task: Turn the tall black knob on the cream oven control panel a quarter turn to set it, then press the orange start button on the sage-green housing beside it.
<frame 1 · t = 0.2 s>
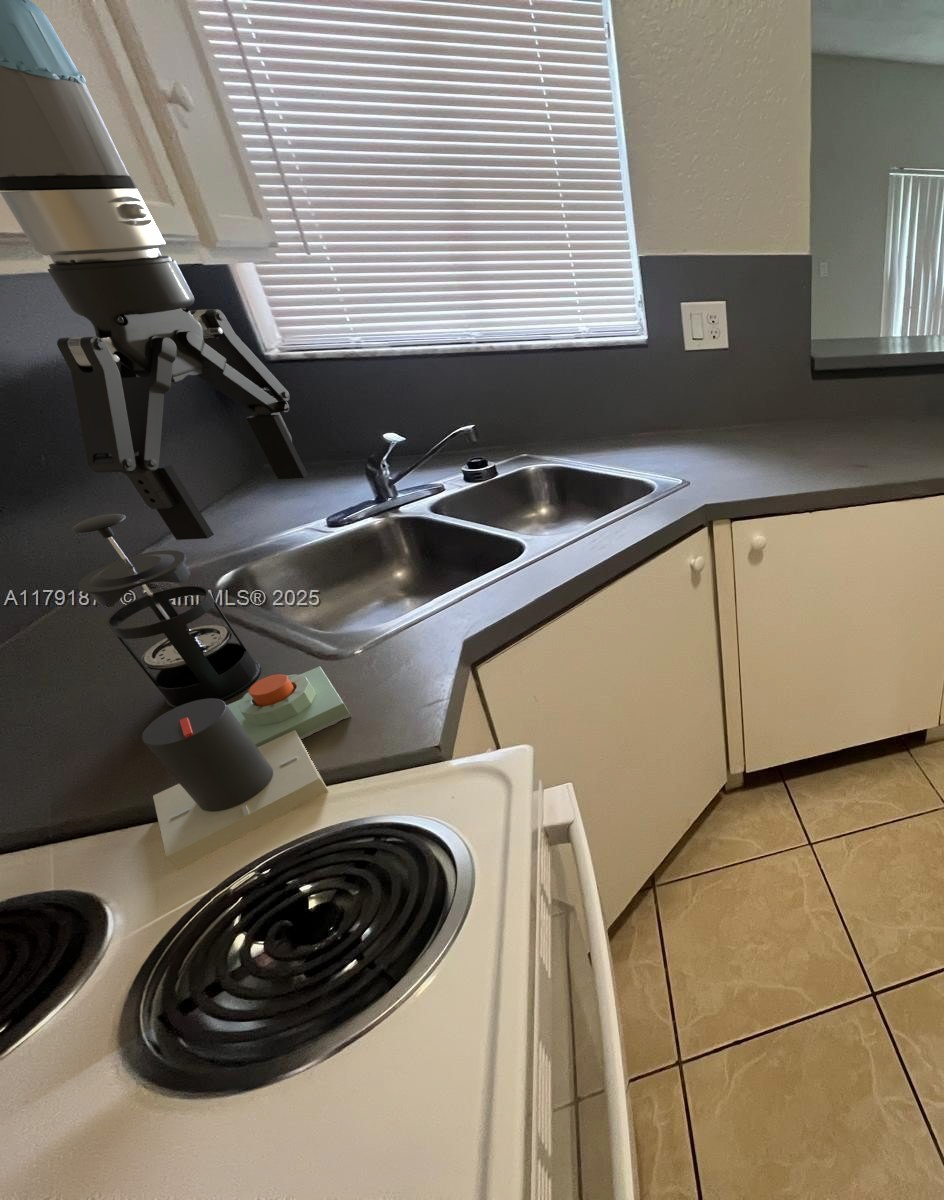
hand: (249, 504, 61), 26 cm above the worktop, tool pointing down, fingers open, 13 cm apart
start button: (272, 690, 71), point 4 cm above the worktop, slide at 0.1 cm
button box: (291, 719, 73), on the worktop
french press: (216, 684, 79), on the worktop
oven knob: (211, 753, 60), point 7 cm above the worktop, hinge at 0.0°
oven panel: (247, 800, 63), on the worktop
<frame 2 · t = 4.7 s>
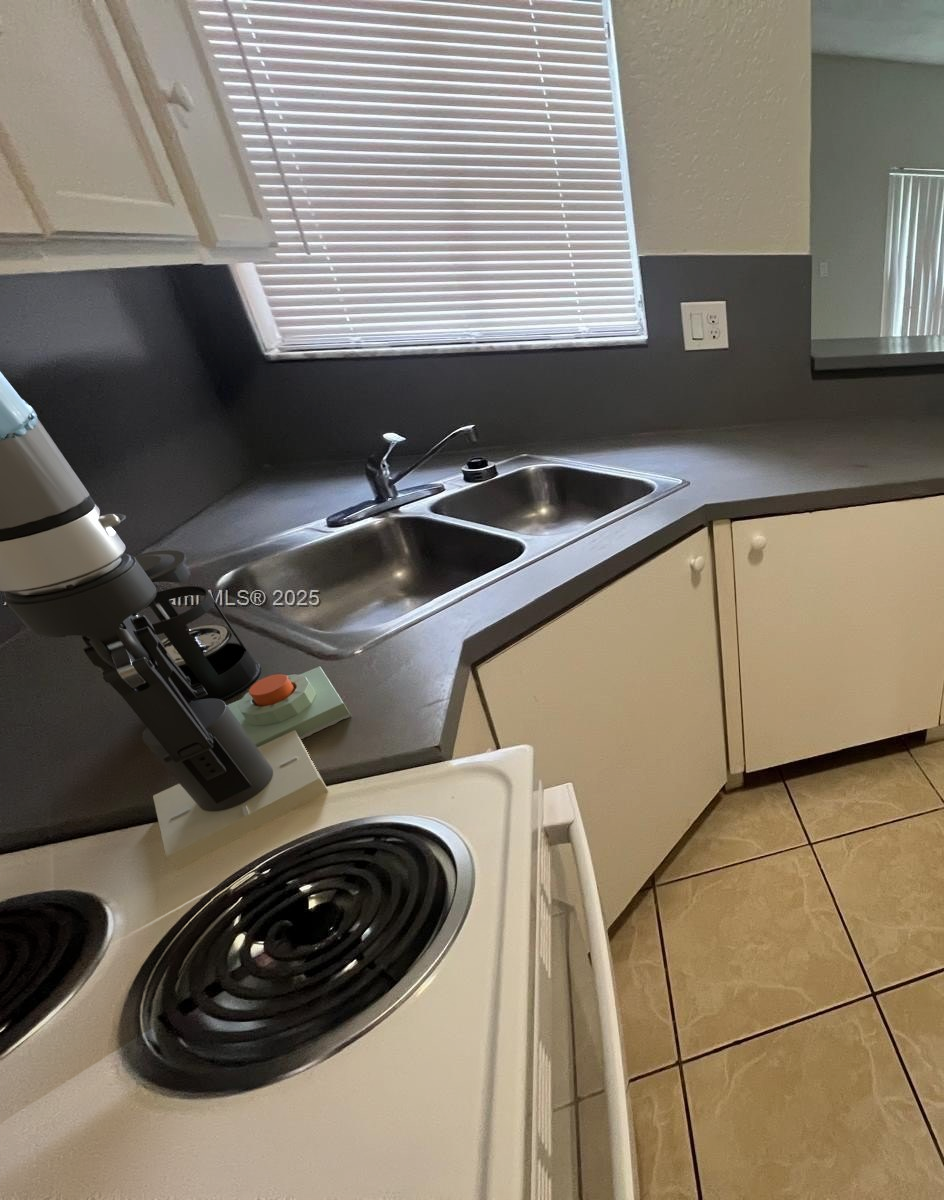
hand: (226, 773, 61), 4 cm above the worktop, tool pointing down, fingers closed on oven knob, 6 cm apart
oven knob: (211, 753, 60), point 7 cm above the worktop, hinge at 0.0°, touching gripper
everything else where it was.
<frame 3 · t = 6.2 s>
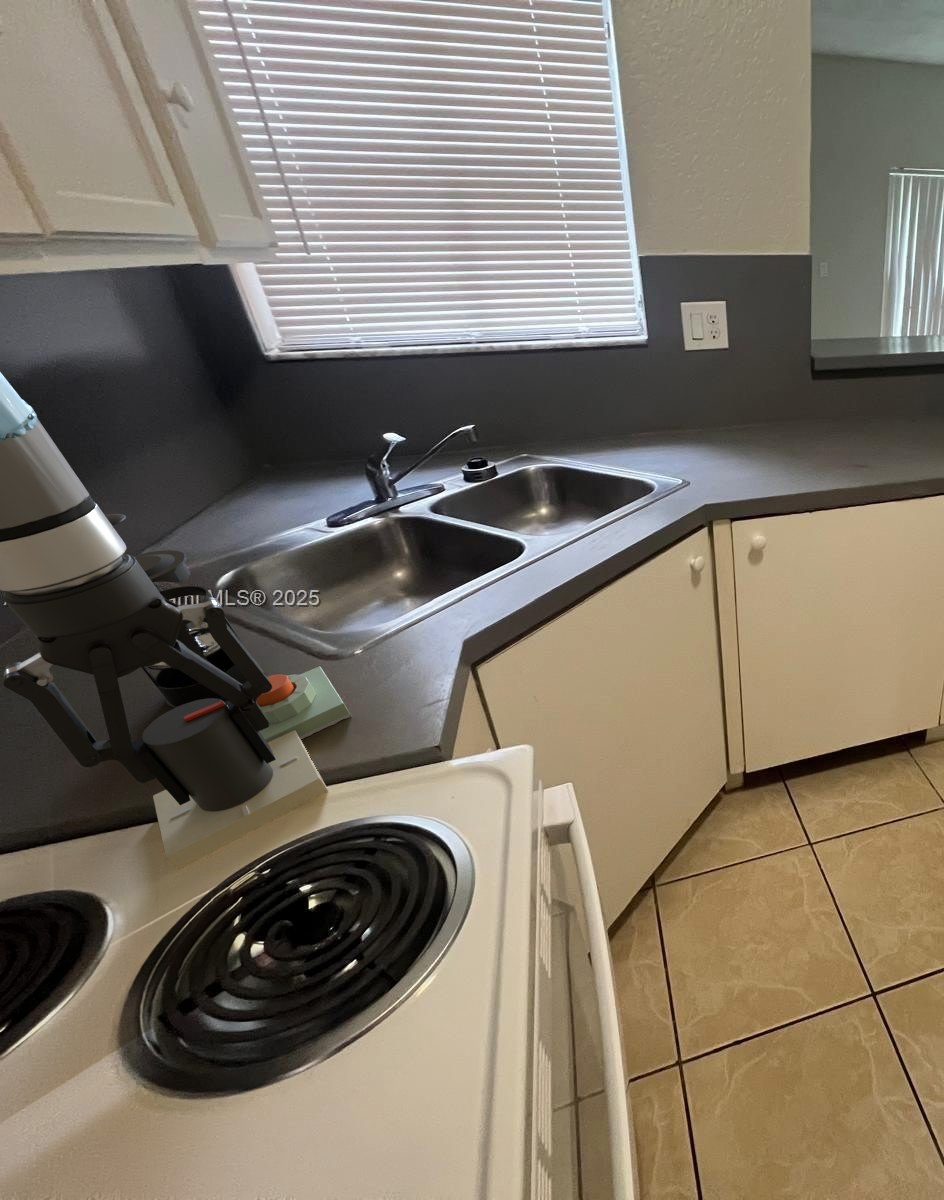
hand: (227, 774, 61), 4 cm above the worktop, tool pointing down, fingers closed on oven knob, 6 cm apart
oven knob: (211, 753, 60), point 7 cm above the worktop, hinge at 89.9°, touching gripper
everything else where it was.
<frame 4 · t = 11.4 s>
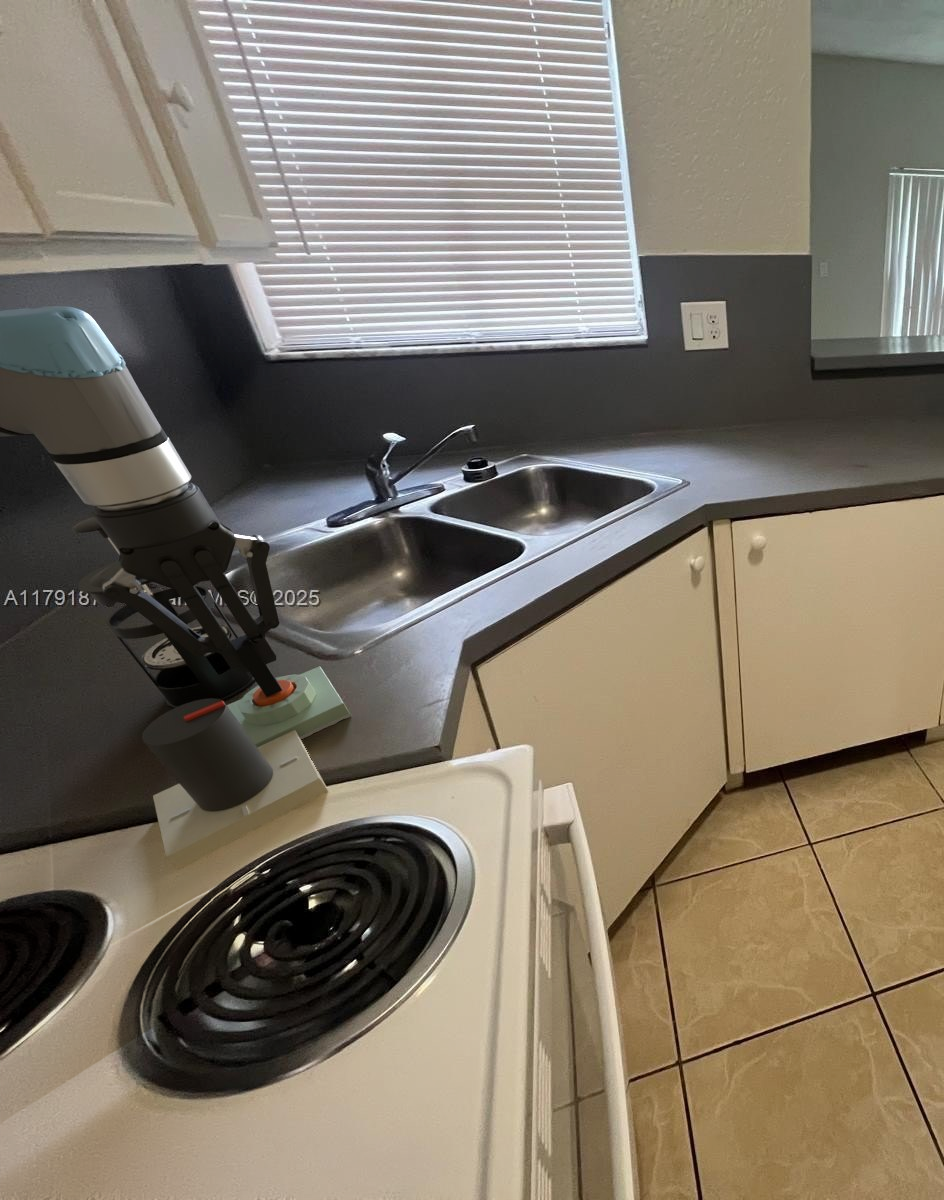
hand: (271, 688, 70), 5 cm above the worktop, tool pointing down, fingers closed
start button: (275, 695, 71), point 4 cm above the worktop, slide at -0.7 cm, touching gripper
oven knob: (211, 753, 60), point 7 cm above the worktop, hinge at 90.1°
everything else where it was.
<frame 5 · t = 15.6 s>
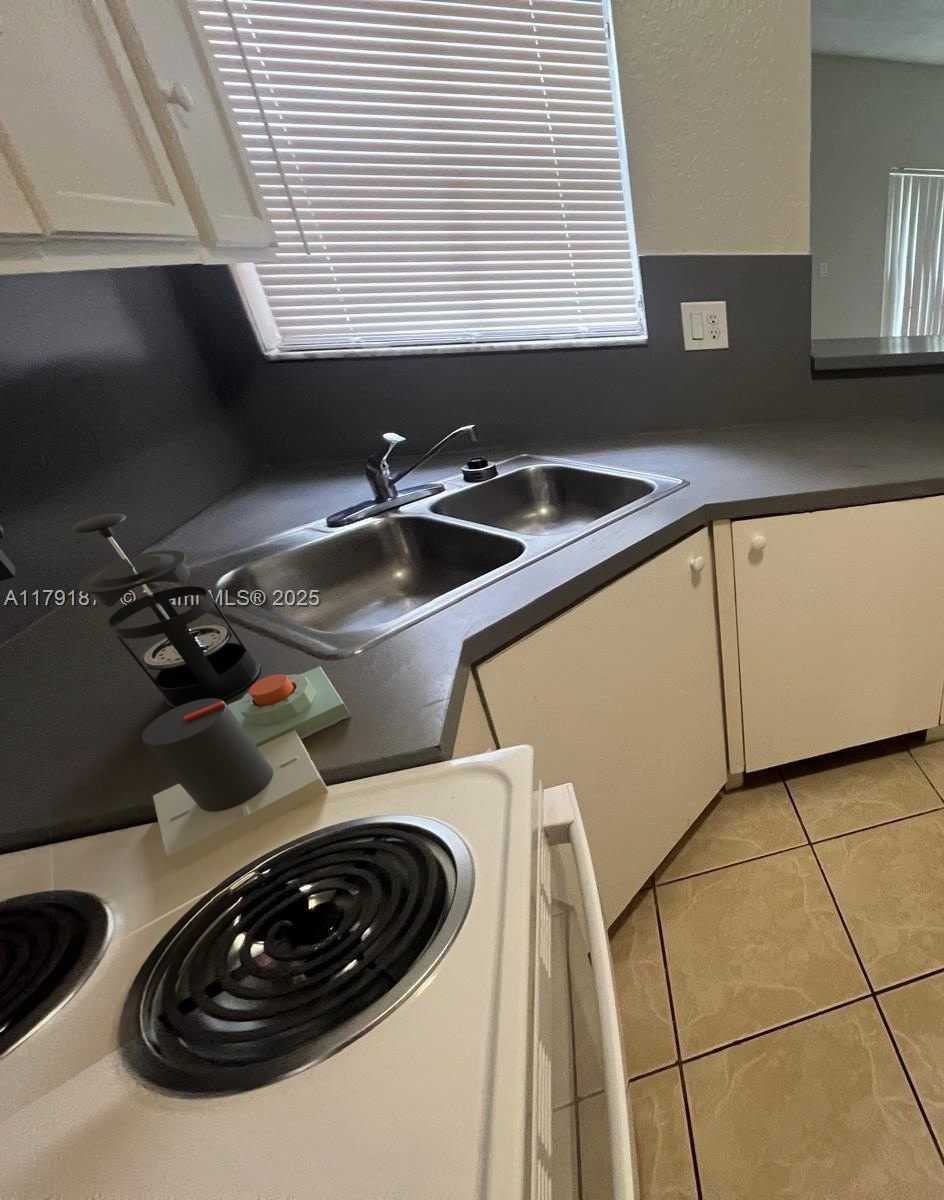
hand: (3, 574, 58), 22 cm above the worktop, tool pointing down, fingers closed
start button: (272, 690, 71), point 4 cm above the worktop, slide at 0.1 cm
everything else where it was.
at the end: oven knob at +90° (first picture: +0°); start button pushed in 1.0 cm at the most during the clip, back to where it started at the end; start button slide at 0.1 cm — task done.
